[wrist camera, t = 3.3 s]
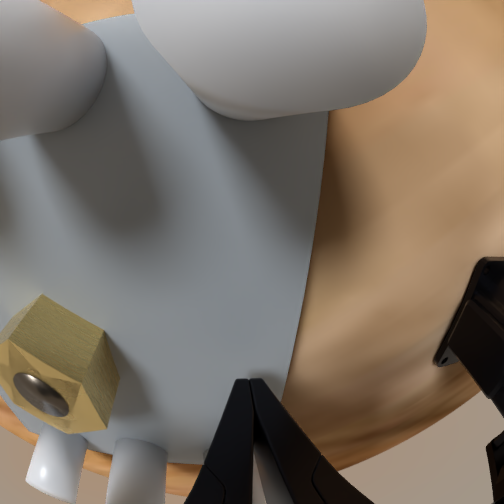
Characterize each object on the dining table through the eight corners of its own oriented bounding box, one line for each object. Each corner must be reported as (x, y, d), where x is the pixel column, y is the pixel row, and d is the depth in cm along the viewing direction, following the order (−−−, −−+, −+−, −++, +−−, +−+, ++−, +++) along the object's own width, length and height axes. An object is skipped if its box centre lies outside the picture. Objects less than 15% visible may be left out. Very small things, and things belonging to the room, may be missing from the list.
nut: (95, 298, 8) (65, 352, 6) (127, 397, 10) (117, 446, 8) (2, 288, 7) (-33, 328, 5) (44, 381, 9) (27, 421, 7)
